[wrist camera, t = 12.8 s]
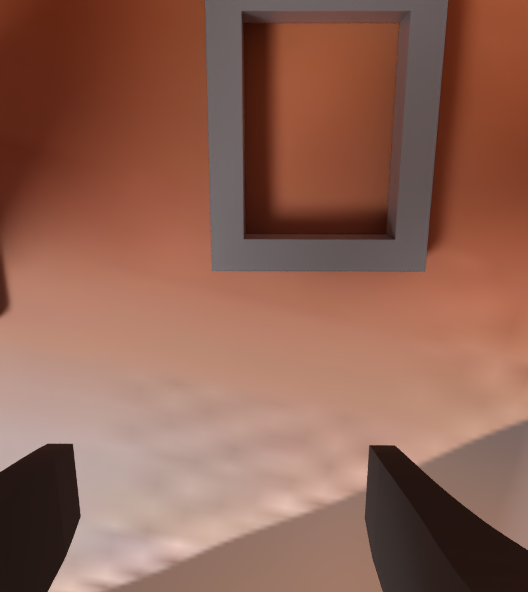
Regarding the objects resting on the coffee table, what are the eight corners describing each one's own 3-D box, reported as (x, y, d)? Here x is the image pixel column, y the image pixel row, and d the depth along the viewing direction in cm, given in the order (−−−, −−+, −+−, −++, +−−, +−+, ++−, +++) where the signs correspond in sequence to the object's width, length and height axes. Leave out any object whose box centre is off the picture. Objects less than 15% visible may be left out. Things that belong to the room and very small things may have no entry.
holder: (216, 263, 20) (211, 271, 19) (209, -15, 18) (204, -31, 16) (413, 264, 20) (425, 271, 19) (435, -15, 18) (450, -31, 16)
